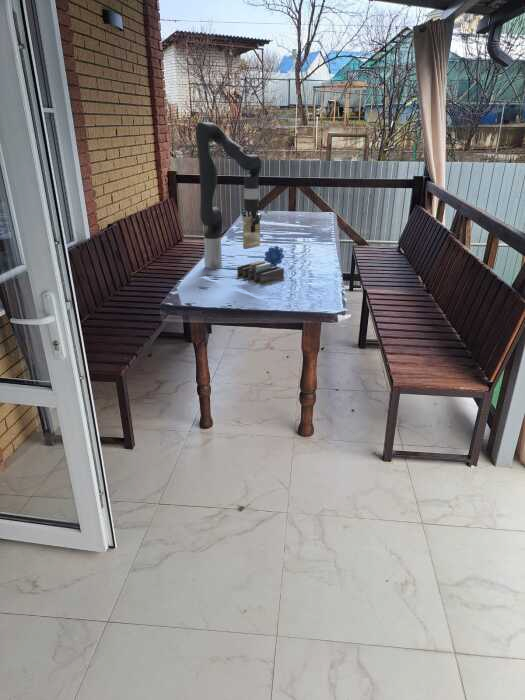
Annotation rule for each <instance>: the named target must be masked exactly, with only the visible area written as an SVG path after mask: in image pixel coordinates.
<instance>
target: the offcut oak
mask: <svg viewBox="0 0 525 700" xmlns="http://www.w3.org/2000/svg"><path fill="white" fill-rule="evenodd" d="M255 262H256V263H254V262H251V263H252V264H250V263H249V264H250V270H252V269H256V266H257V265H261V264H265V263H266V262H265V260H260V262H258V261H255Z"/></svg>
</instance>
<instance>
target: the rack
mask: <svg viewBox="0 0 525 700" xmlns="http://www.w3.org/2000/svg"><path fill="white" fill-rule="evenodd" d="M260 261H261V260H260ZM260 261H259V260H258V261H255V262H250V263H247V264H242V265H240V266H237V267H236V268H237V269H236V273H237V274H236V275H234V277H236V278H240V279H242V280H245V281H249V282H252V283H254V284H258V285H260V286H265V285H268V284H271V283H275V282H278V281H282V280H285V279H287V277H286V276H285V268H284V267H281V268H279V266H278V265H277V266H273V265H271V268H268V269H264V270H261V271H257V272H256V269H252V270H250V264H252V263H256V262H260Z"/></svg>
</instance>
